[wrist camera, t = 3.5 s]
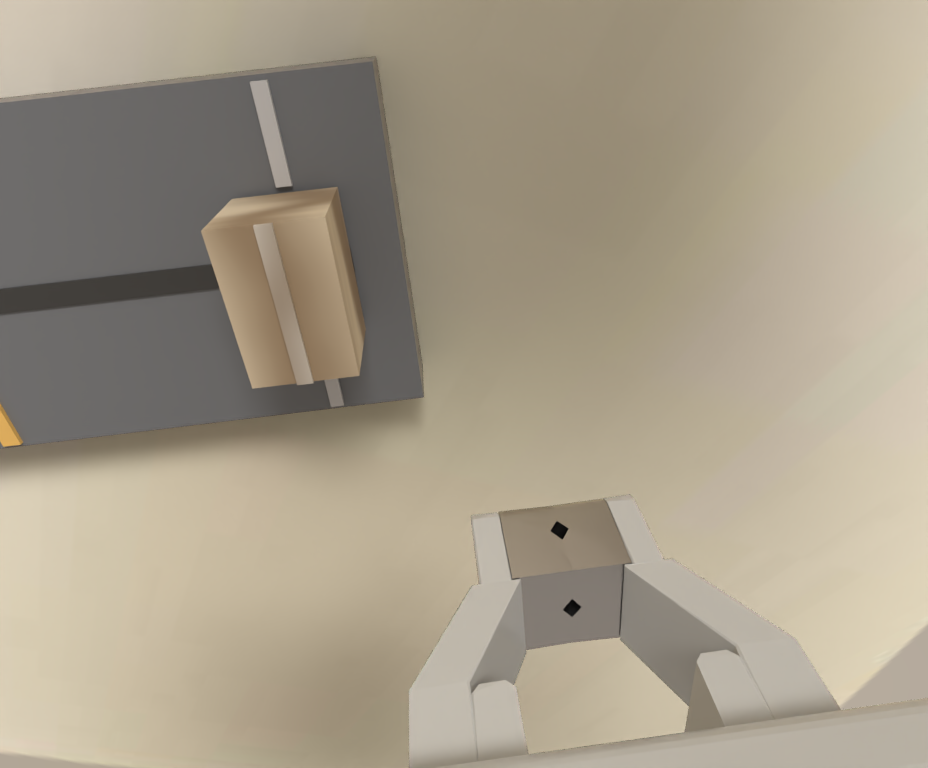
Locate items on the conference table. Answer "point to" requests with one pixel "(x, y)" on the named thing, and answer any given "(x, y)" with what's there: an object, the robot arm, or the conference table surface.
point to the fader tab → (289, 286)
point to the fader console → (181, 246)
